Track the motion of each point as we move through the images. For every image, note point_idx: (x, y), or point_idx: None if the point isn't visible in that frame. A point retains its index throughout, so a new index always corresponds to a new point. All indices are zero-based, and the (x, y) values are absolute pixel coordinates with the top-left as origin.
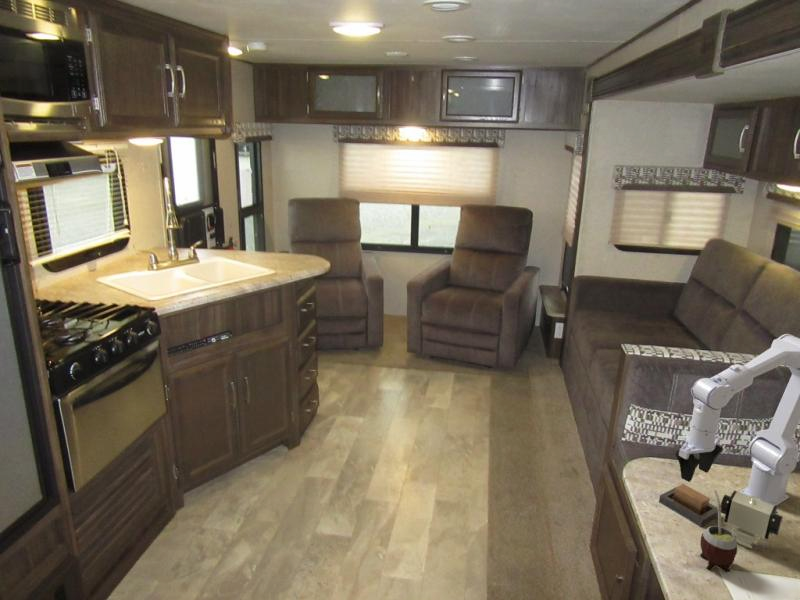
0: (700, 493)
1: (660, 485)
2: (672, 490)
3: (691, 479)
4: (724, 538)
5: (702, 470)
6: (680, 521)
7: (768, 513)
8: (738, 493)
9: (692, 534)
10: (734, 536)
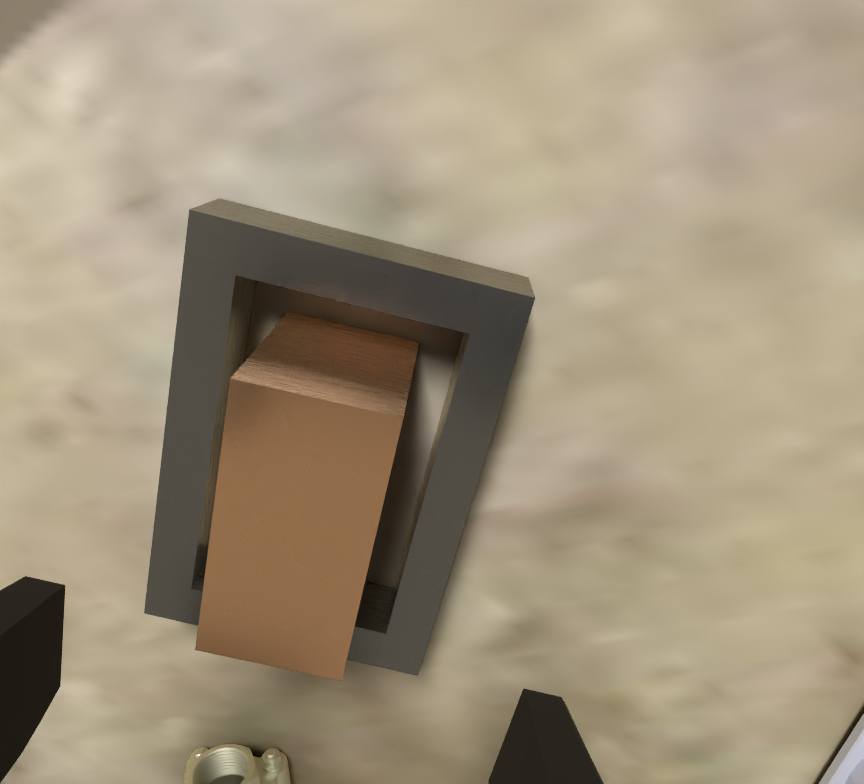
0: (350, 603)
1: (544, 87)
2: (393, 280)
3: (31, 726)
4: None
5: (510, 734)
6: (106, 441)
7: None
8: None
9: (33, 549)
10: (203, 768)
